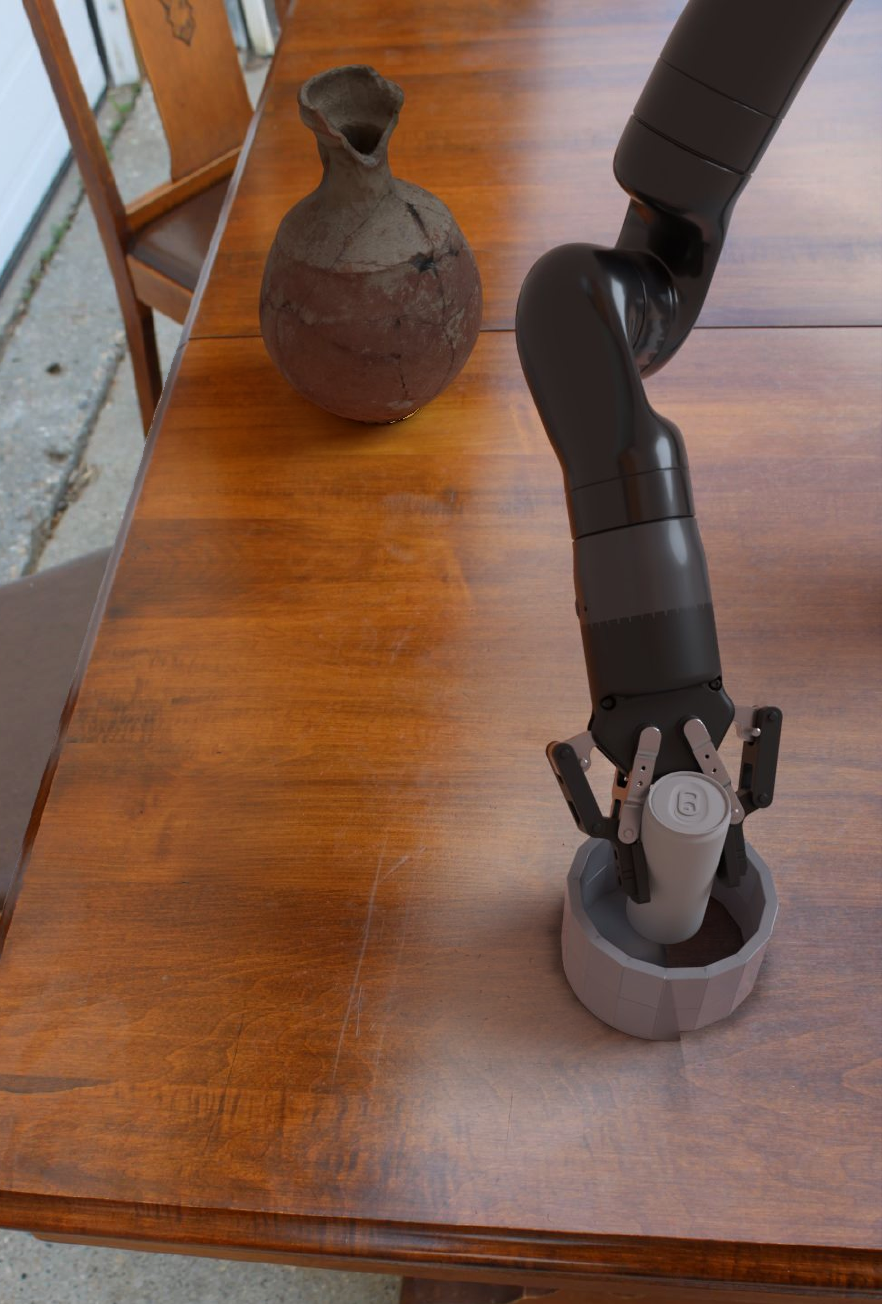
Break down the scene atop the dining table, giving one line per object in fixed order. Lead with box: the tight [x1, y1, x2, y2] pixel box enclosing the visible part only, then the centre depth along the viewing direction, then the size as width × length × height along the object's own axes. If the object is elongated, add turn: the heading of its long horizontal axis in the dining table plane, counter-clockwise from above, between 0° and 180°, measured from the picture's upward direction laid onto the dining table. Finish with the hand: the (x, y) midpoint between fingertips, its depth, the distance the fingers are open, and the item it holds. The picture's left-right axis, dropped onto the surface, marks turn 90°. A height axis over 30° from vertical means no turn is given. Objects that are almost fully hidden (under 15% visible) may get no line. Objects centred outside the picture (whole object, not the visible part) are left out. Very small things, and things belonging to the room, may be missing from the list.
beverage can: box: [626, 771, 731, 945], centre depth 72 cm, size 5×5×12 cm
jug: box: [258, 63, 484, 425], centre depth 112 cm, size 22×22×30 cm
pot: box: [560, 824, 780, 1042], centre depth 78 cm, size 13×13×8 cm
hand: (684, 891), depth 71 cm, fingers closed on beverage can, 4 cm apart
